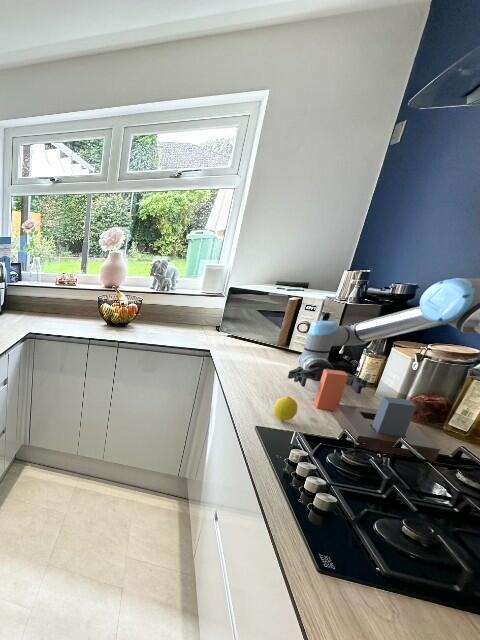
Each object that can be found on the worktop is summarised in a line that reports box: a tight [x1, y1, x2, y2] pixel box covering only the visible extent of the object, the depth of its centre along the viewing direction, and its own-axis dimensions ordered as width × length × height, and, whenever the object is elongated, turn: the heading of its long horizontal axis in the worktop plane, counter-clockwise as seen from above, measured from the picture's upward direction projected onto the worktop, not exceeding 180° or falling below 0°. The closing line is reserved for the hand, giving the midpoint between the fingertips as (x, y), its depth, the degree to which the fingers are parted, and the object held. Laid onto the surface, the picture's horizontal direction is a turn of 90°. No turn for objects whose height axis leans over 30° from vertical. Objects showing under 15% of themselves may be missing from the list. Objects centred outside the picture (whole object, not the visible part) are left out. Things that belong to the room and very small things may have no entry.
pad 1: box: [313, 369, 348, 412], centre depth 127 cm, size 5×5×12 cm
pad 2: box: [372, 395, 417, 437], centre depth 104 cm, size 5×5×12 cm
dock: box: [331, 403, 441, 463], centre depth 110 cm, size 15×25×4 cm, turn 149°
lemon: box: [272, 395, 298, 422], centre depth 118 cm, size 6×6×8 cm
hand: (331, 386), depth 127 cm, fingers open, 13 cm apart
